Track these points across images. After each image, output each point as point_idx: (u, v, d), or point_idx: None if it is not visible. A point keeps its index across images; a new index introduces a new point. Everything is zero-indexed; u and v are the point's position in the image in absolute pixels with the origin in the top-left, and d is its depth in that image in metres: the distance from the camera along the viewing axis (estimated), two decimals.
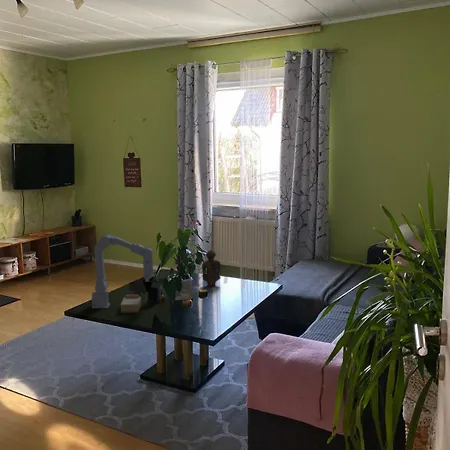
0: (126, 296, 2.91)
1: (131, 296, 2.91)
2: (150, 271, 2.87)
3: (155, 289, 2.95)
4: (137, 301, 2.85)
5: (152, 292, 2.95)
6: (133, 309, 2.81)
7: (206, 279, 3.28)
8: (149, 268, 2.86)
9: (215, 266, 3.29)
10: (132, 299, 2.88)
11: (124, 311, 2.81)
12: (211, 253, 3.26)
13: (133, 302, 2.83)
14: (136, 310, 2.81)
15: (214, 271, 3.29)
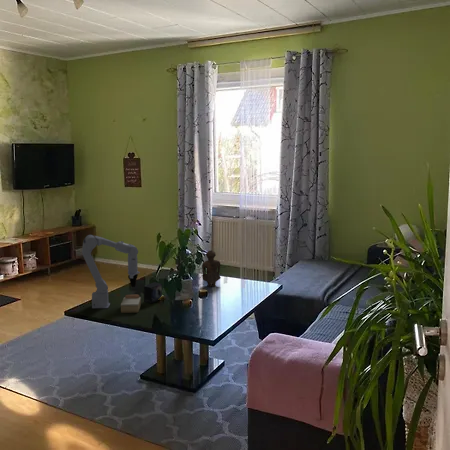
0: (126, 296, 2.91)
1: (131, 296, 2.91)
2: (134, 268, 2.92)
3: (149, 289, 2.95)
4: (137, 301, 2.85)
5: (147, 291, 2.96)
6: (133, 309, 2.81)
7: (206, 279, 3.28)
8: (135, 265, 2.92)
9: (215, 266, 3.29)
10: (132, 299, 2.88)
11: (124, 311, 2.81)
12: (211, 253, 3.26)
13: (133, 302, 2.83)
14: (136, 310, 2.81)
15: (214, 271, 3.29)
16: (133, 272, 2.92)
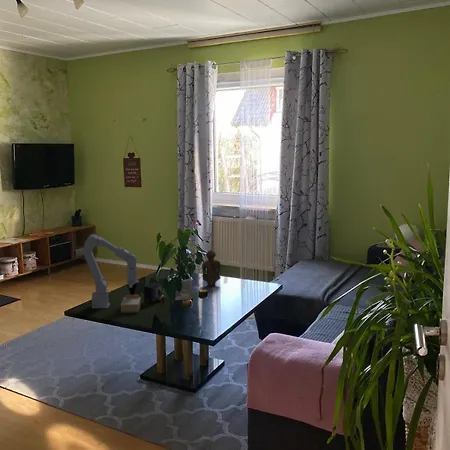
0: (126, 296, 2.91)
1: (131, 296, 2.91)
2: (134, 277, 2.89)
3: (149, 289, 2.95)
4: (137, 301, 2.85)
5: (147, 291, 2.96)
6: (133, 309, 2.81)
7: (206, 279, 3.28)
8: (133, 274, 2.88)
9: (215, 266, 3.29)
10: (132, 299, 2.88)
11: (124, 311, 2.81)
12: (211, 253, 3.26)
13: (133, 302, 2.83)
14: (136, 310, 2.81)
15: (214, 271, 3.29)
16: (132, 281, 2.88)
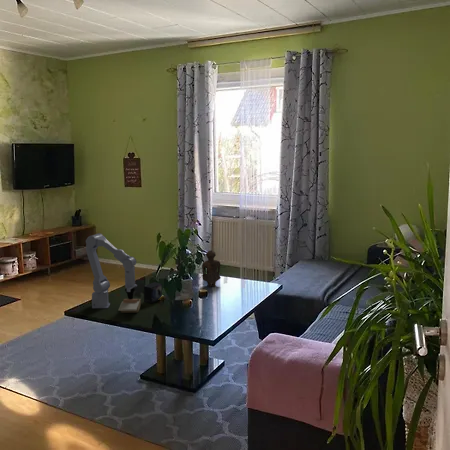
0: (124, 300, 2.83)
1: (129, 300, 2.83)
2: (132, 281, 2.81)
3: (149, 289, 2.95)
4: (135, 306, 2.77)
5: (147, 291, 2.96)
6: None
7: (206, 279, 3.28)
8: (129, 278, 2.80)
9: (215, 266, 3.29)
10: (130, 304, 2.80)
11: (124, 311, 2.81)
12: (211, 253, 3.26)
13: (131, 307, 2.75)
14: (136, 310, 2.81)
15: (214, 271, 3.29)
16: (130, 285, 2.80)
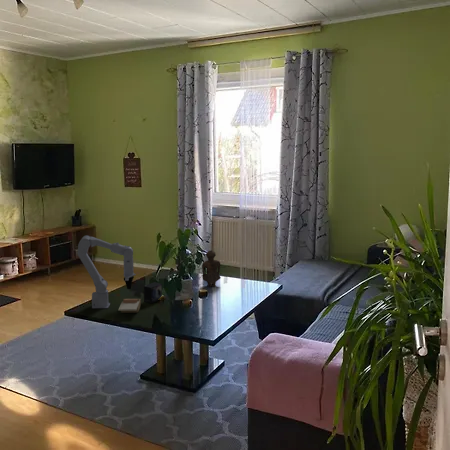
0: (124, 300, 2.83)
1: (129, 300, 2.83)
2: (130, 270, 2.88)
3: (149, 289, 2.95)
4: (135, 306, 2.77)
5: (147, 291, 2.96)
6: None
7: (206, 279, 3.28)
8: (130, 267, 2.87)
9: (215, 266, 3.29)
10: (130, 304, 2.80)
11: (124, 311, 2.81)
12: (211, 253, 3.26)
13: (131, 307, 2.75)
14: (136, 310, 2.81)
15: (214, 271, 3.29)
16: (129, 274, 2.88)
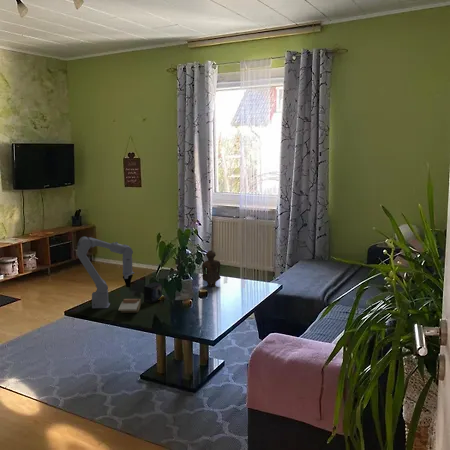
0: (124, 300, 2.83)
1: (129, 300, 2.83)
2: (129, 268, 2.91)
3: (149, 289, 2.95)
4: (135, 306, 2.77)
5: (147, 291, 2.96)
6: None
7: (206, 279, 3.28)
8: (130, 265, 2.91)
9: (215, 266, 3.29)
10: (130, 304, 2.80)
11: (124, 311, 2.81)
12: (211, 253, 3.26)
13: (131, 307, 2.75)
14: (136, 310, 2.81)
15: (214, 271, 3.29)
16: (128, 272, 2.91)
